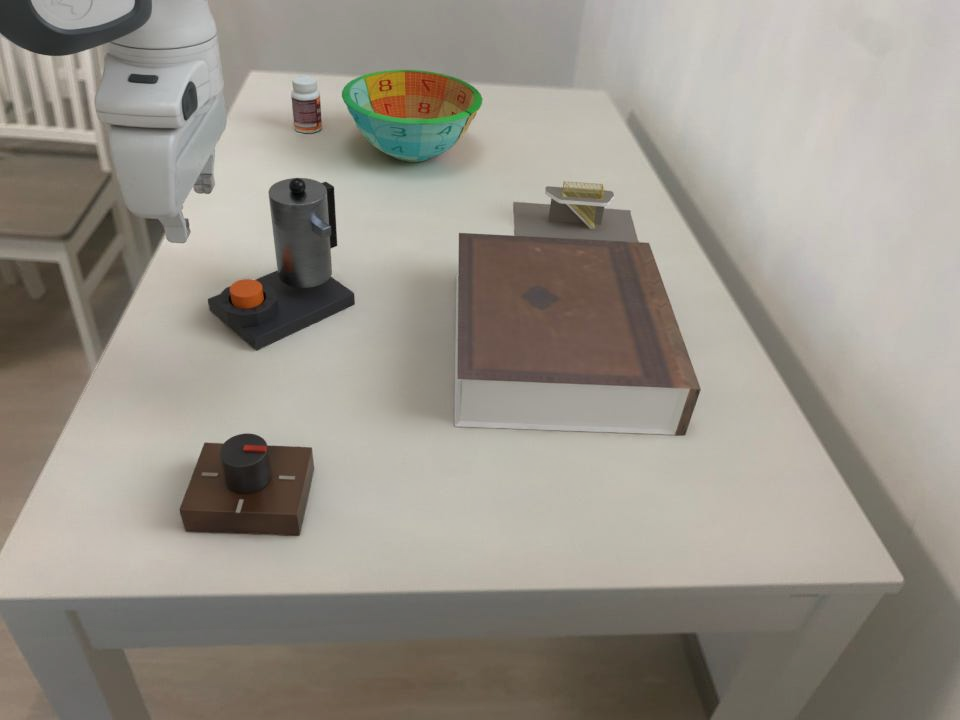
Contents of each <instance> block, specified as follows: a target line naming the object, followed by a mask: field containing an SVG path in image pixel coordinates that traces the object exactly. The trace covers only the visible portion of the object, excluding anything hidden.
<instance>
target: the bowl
mask: <svg viewBox="0 0 960 720" xmlns="http://www.w3.org/2000/svg"><path fill="white" fill-rule="evenodd" d="M341 98H342V101H343V103H344V104H345V105H346V107H347V110H348V112H349V114H350V115H351V117H352V119H353V121H354V123H355V125H356V128H357V129H358V130H359V132H360V133H361V135H362V136H363V137H364V138H365V139H366V140H367V141H368V142H369V143H370V144H371V146H373V147H374V148H376V149H377V150H379V152H382V153H384V154H386V155H388V156H390V157H393V158H394V159H396V160H399V161H402V162H408V163H420V162H421V163H422V162H426V161H428V160H430V159H431V158H435V157H437V156H440V155H442V154H444V153H445V152H447V151H449V150H450V149H452V148H453V147H454V146H455V145H457V143H458V142H459V141H460V140H461V139H462V138H463V137H464V135H465V134H466V133H467V132H468V129H469V128H470V125H471V124H472V121H474V119H475V117H476V116H477V113H478V111H479V110H480V109H481V107H482V105H483V97H482V94H481V92H480V91H479V90H478V89H477V88H476V87H474V85H471V84H470V83H468V82H466V81H464V80H463V79H460V78H457V77H454V76H451V75H449V74H444V73H439V72H435V71H429V70H428V71H427V70H419V69H391V70H381V71H376V72H371V73H365V74H363V75H361V76H358V77H356V78H354V79H351V80H350V81H349V82H347V83H346V84H345V85H344V87H343V88H342V90H341Z"/></svg>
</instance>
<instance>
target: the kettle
mask: <svg viewBox="0 0 960 720" xmlns="http://www.w3.org/2000/svg"><path fill="white" fill-rule="evenodd" d="M335 197H336V196H335V186H334V185H333V184H331V183H329V182H327V181H322V182H320V181H319V180H316V179H312V178H306V177H293V178H285V179H282V180H280V181H277V182H275V183H273V184H272V185H271V186H270V187H269V189H268V201H269V209H270V218H271V225H272V235H273V244H274V249H275V250H274V253H275V261H276V269H277V270H278V277H279V279H280V280H281V281H282V282H283V283H285V284H287V285H289V286H292V287H297V288H310V287H315V286H318V285H321V284H323V283H325V282H326V281H327V280H329V278H330V277H332V274H333V267H332V264H333V263H332V251H331V249H333V248H335V247H336V248H337V247H338V233H337V231H338V230H337V217H336V216H337V215H336V214H337V213H336V198H335ZM277 270H276V271H277Z"/></svg>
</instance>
